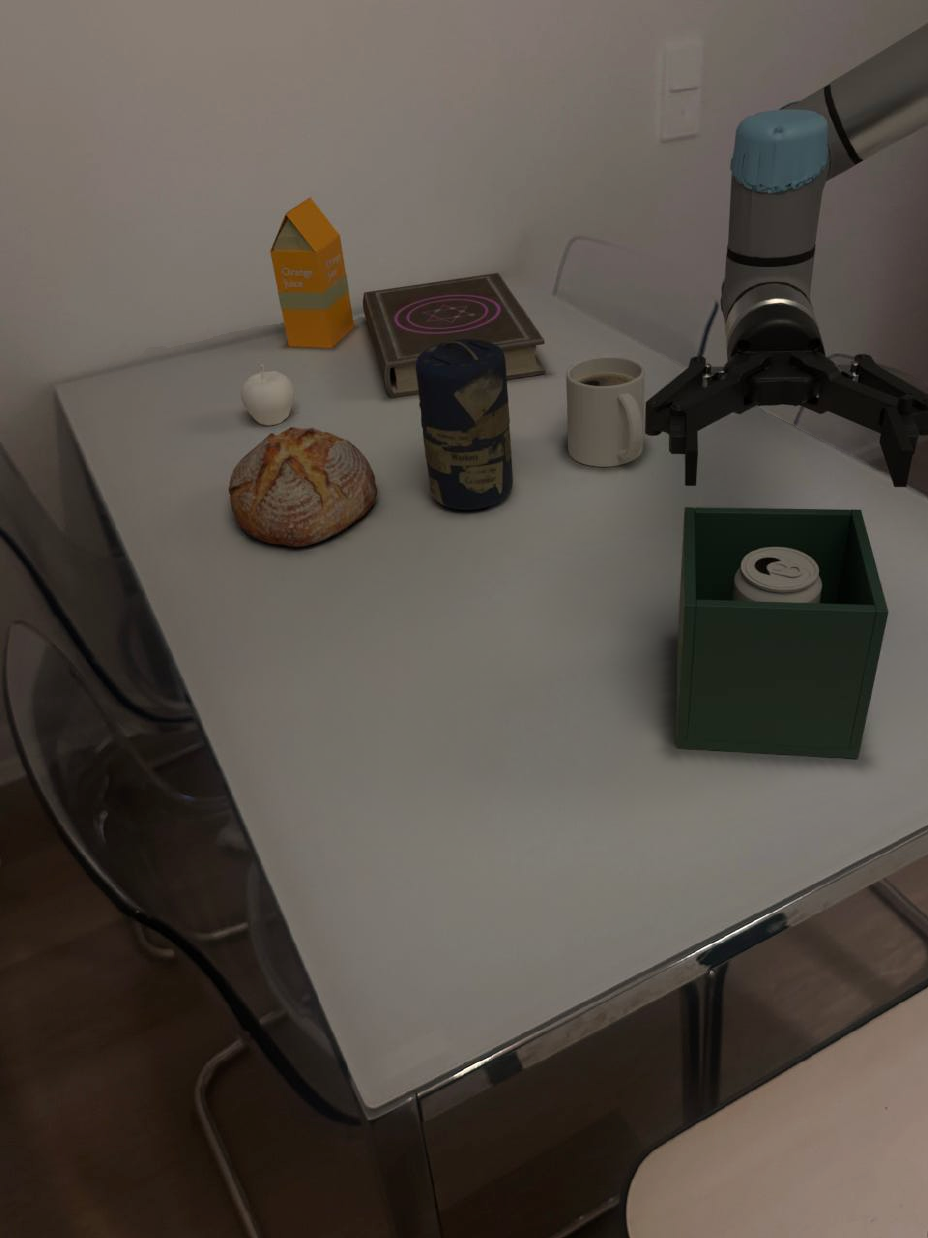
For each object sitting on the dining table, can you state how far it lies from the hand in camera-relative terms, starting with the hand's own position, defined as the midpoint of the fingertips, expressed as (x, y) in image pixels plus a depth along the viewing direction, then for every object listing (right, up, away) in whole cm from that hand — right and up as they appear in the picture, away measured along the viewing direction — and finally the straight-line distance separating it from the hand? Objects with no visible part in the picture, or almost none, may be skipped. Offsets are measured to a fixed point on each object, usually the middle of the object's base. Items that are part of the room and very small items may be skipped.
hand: (795, 469), depth 67 cm
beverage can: (+3, -16, +16) cm, 22 cm away
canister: (-21, +4, +47) cm, 52 cm away
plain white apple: (-48, +17, +68) cm, 85 cm away
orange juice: (-45, +34, +92) cm, 108 cm away
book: (-24, +31, +84) cm, 92 cm away
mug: (-5, +9, +52) cm, 53 cm away
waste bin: (+2, -16, +16) cm, 23 cm away
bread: (-40, +3, +48) cm, 63 cm away
